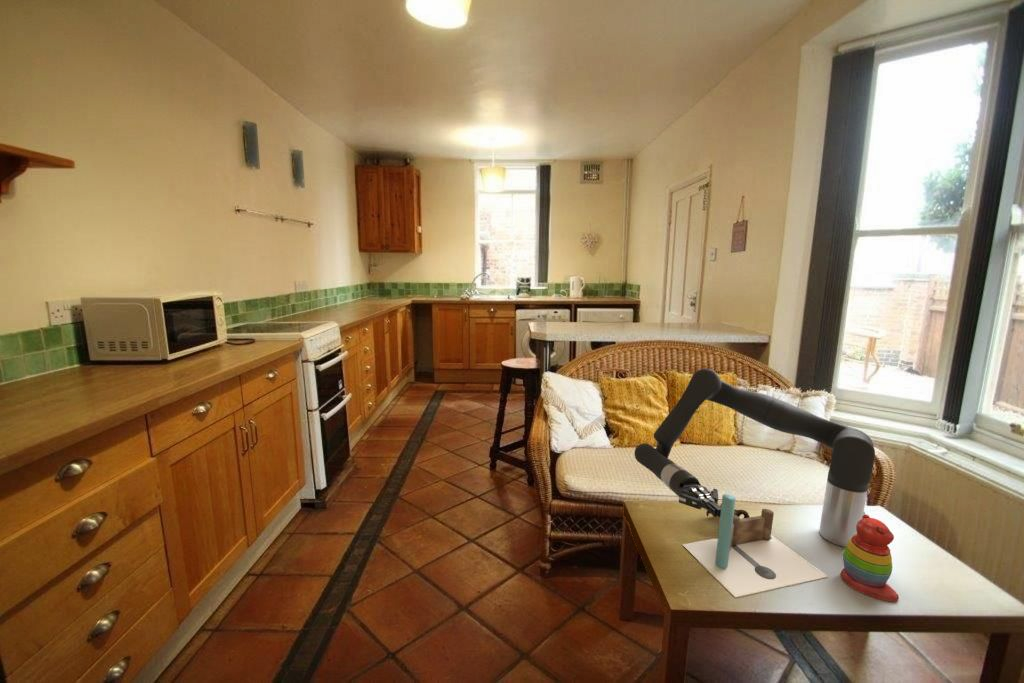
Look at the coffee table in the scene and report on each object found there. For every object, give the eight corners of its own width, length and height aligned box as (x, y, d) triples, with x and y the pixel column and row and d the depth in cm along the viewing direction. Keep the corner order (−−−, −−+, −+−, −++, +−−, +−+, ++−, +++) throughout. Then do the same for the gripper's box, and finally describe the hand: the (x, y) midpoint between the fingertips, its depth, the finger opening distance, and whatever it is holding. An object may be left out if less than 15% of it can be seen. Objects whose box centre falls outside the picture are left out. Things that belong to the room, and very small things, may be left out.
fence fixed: (764, 533, 125) (767, 508, 124) (772, 539, 122) (776, 513, 121) (722, 541, 121) (725, 514, 120) (730, 547, 118) (733, 520, 117)
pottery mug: (714, 537, 124) (706, 507, 127) (708, 532, 133) (701, 505, 136) (757, 532, 122) (748, 502, 125) (748, 528, 131) (740, 500, 133)
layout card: (764, 530, 127) (764, 529, 127) (828, 577, 108) (828, 576, 108) (682, 545, 120) (682, 544, 119) (735, 598, 100) (735, 596, 100)
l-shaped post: (723, 543, 120) (730, 480, 116) (735, 547, 118) (742, 483, 114) (713, 565, 111) (721, 497, 107) (726, 570, 109) (734, 501, 105)
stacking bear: (902, 603, 100) (916, 536, 97) (854, 596, 102) (866, 530, 99) (873, 572, 110) (885, 510, 107) (830, 566, 112) (840, 505, 109)
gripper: (661, 471, 124) (700, 503, 107) (699, 467, 127) (743, 497, 111) (659, 494, 125) (697, 529, 109) (697, 489, 128) (739, 523, 112)
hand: (720, 513), depth 110 cm, fingers closed
